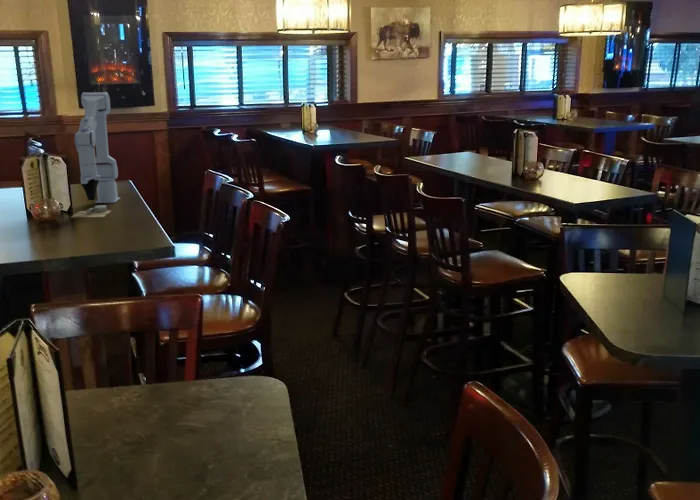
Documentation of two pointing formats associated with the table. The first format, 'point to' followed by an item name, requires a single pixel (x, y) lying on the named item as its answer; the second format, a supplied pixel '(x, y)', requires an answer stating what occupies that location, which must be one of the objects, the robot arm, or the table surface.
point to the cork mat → (95, 215)
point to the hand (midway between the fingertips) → (91, 199)
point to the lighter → (97, 209)
